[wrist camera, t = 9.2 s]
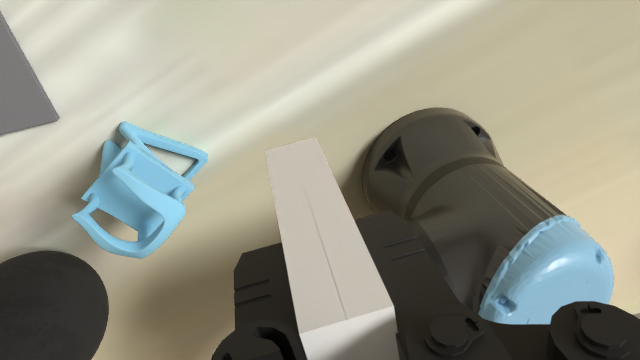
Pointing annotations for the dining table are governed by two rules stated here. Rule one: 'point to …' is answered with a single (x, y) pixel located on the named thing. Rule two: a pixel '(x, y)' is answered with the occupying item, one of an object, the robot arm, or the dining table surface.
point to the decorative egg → (51, 308)
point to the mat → (20, 88)
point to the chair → (138, 191)
